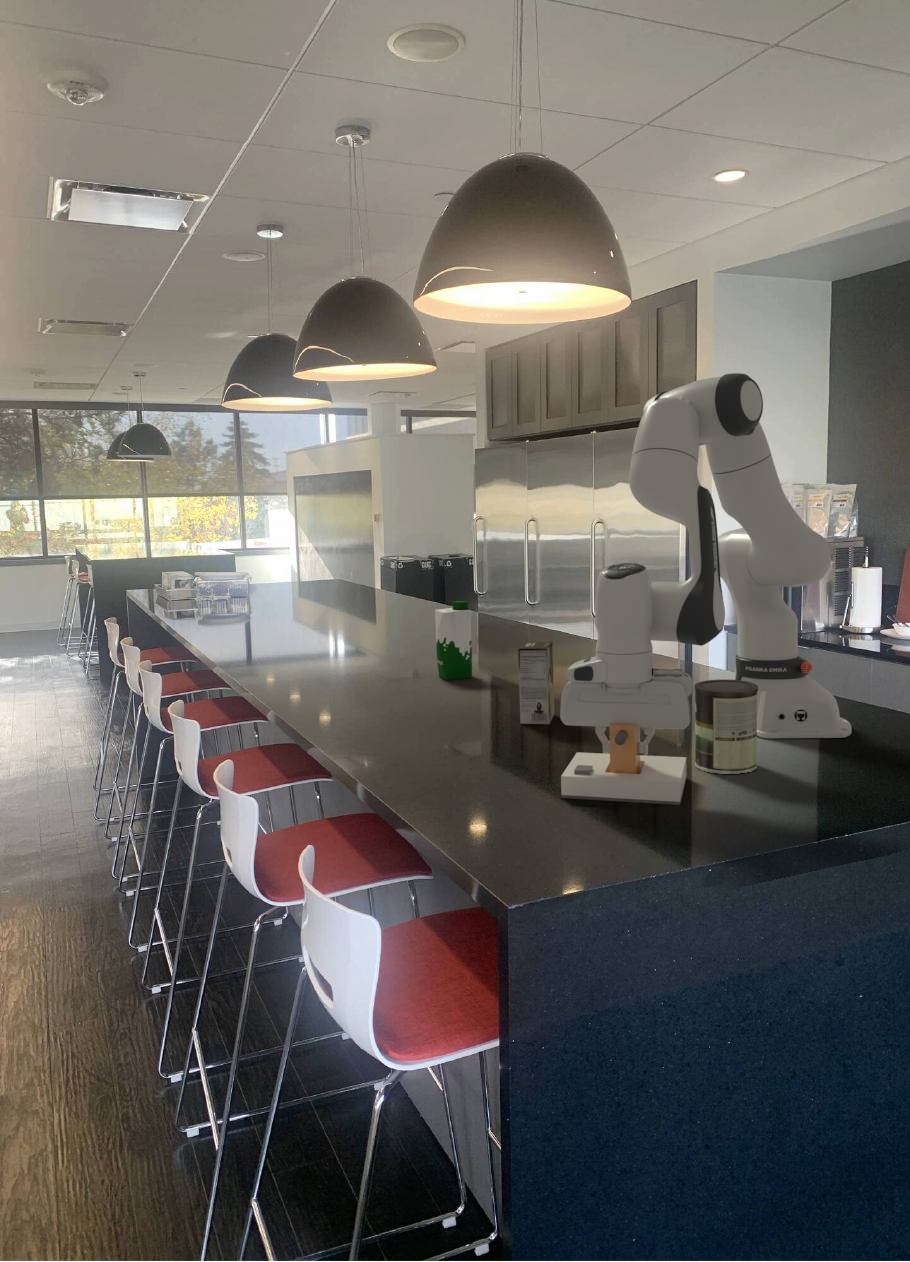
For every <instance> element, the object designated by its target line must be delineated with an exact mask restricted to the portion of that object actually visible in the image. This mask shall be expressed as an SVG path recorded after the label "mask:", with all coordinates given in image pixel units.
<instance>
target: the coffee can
mask: <svg viewBox="0 0 910 1262" xmlns="http://www.w3.org/2000/svg"><path fill="white" fill-rule="evenodd" d="M757 691H758V685H756V684H754V683H751V682H747V681H741V680H735V679H709V680H708V679H707V680H702V681H699V682H695V684H694V716H695V717H694V720H695V721H694V724H695V725H694V727H695V728H694V731H695V732H694V733H695V734H694V738H695V739H694V742H695V743H694V747H695V748H694V750H695V751H694V754H695V758H694V767H695V768H696V769H698V770H699V769H700V771H702V772H704V771H705V773H708V772H709V773H708V774H713V773H718V774H717V775H721V774H739V773H747V772H750V773H753V772H754V771H753V770H755V769H756V770H757V769H758V765H757V752H758V751H757V743H758V742H757V739H758V736H757ZM756 770H755V771H756ZM752 771H753V772H752ZM719 773H720V774H719ZM747 774H748V773H747Z"/></svg>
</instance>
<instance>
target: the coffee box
mask: <svg viewBox="0 0 910 1262" xmlns="http://www.w3.org/2000/svg"><path fill="white" fill-rule="evenodd" d="M553 643H554V641H551V640H550V641H524V642H523V643H522V644H521V645H520V646H519V647H518V648H517V650H518V651H517V653H518V655H517V656H518V658H517V659H518V684H519V685H518V687H519V719H520V722H519V723H520V724H521V725H550V724H551V722H552V720H553V718H554V715H555V695H554V694H555V692H554V690H555V689H554V688H555V687H554V659H553V657H554V654H553V653H554V649H553Z"/></svg>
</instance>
